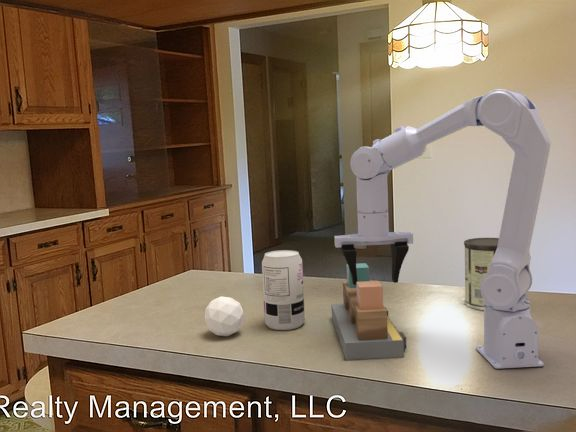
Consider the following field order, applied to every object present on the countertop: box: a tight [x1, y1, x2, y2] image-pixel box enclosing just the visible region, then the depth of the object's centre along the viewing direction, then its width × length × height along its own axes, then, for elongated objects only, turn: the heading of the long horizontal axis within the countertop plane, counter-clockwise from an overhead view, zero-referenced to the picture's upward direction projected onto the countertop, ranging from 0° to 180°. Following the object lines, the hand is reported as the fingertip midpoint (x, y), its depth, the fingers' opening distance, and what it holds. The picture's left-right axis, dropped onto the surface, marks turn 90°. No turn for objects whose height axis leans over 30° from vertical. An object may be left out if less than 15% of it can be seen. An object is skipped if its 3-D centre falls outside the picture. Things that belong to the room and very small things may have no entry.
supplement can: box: [261, 249, 306, 331], centre depth 121 cm, size 8×8×15 cm
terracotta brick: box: [356, 280, 384, 310], centre depth 104 cm, size 4×4×4 cm
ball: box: [204, 295, 244, 337], centre depth 117 cm, size 8×8×8 cm
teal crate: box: [346, 262, 370, 288], centre depth 119 cm, size 4×4×4 cm
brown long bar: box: [342, 280, 388, 341], centre depth 112 cm, size 22×5×5 cm, turn 1°
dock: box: [330, 303, 407, 361], centre depth 113 cm, size 24×11×3 cm, turn 1°
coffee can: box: [463, 237, 499, 311], centre depth 129 cm, size 10×10×14 cm
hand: (374, 282), depth 112 cm, fingers open, 7 cm apart
